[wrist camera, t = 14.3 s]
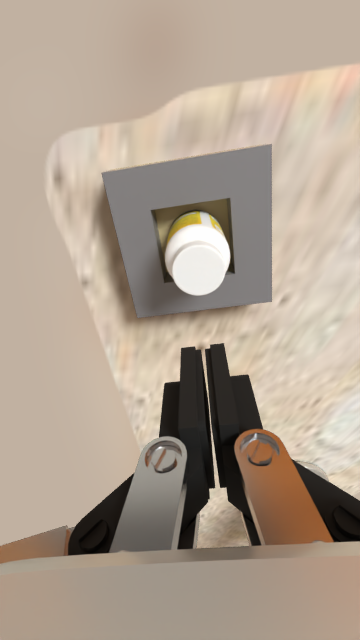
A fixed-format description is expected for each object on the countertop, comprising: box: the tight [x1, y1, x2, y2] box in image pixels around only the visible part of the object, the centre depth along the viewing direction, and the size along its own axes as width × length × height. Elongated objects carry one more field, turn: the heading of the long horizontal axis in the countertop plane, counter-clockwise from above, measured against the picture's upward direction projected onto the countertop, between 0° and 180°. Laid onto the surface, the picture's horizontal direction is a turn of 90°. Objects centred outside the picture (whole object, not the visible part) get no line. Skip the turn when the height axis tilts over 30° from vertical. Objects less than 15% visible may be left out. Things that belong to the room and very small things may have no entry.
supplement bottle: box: [165, 210, 230, 296], centre depth 27 cm, size 5×5×10 cm
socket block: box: [102, 144, 272, 318], centre depth 30 cm, size 14×14×4 cm
